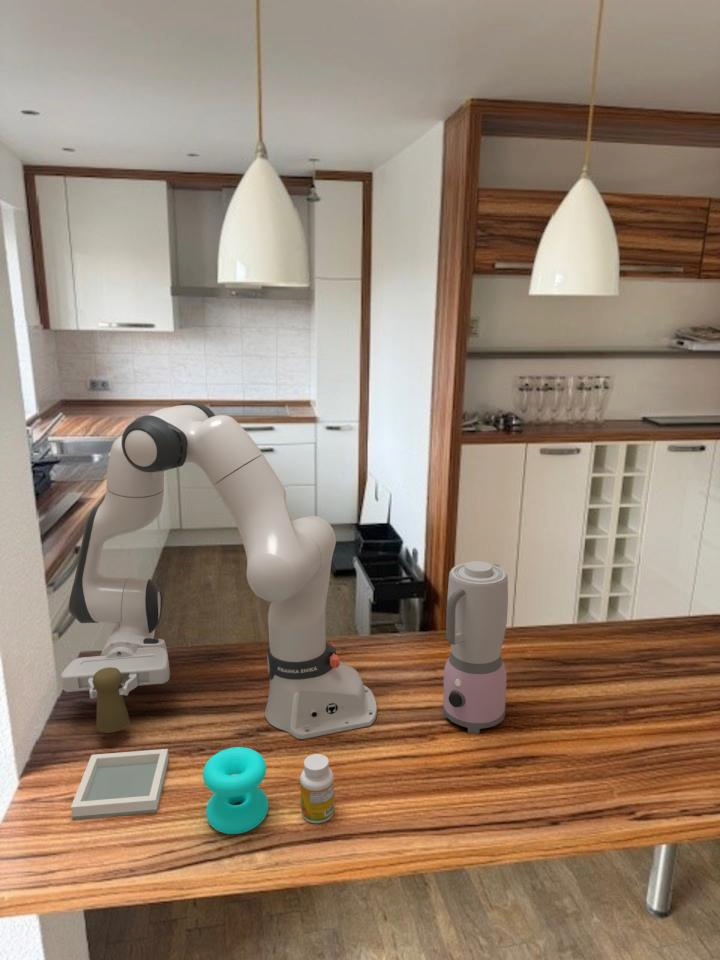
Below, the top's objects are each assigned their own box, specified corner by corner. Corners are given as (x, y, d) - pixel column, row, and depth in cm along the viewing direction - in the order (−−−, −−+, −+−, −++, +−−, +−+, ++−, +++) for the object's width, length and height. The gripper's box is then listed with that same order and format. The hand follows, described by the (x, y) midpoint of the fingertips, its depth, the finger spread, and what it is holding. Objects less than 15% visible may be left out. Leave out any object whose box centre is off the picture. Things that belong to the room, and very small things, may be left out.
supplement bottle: (301, 802, 119) (299, 752, 117) (333, 799, 120) (332, 749, 117) (301, 825, 114) (299, 773, 111) (335, 823, 114) (333, 771, 112)
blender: (466, 691, 151) (470, 549, 142) (517, 713, 143) (524, 564, 134) (420, 724, 140) (421, 572, 131) (472, 751, 132) (477, 590, 123)
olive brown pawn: (121, 733, 132) (114, 679, 130) (90, 732, 133) (83, 678, 131) (135, 715, 138) (128, 663, 136) (105, 714, 139) (98, 662, 137)
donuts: (269, 742, 119) (261, 783, 109) (272, 793, 121) (264, 837, 112) (209, 743, 119) (196, 784, 109) (213, 794, 121) (200, 838, 112)
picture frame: (168, 760, 130) (167, 748, 130) (156, 812, 117) (155, 800, 117) (93, 766, 129) (91, 754, 128) (72, 819, 116) (70, 807, 115)
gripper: (69, 647, 145) (48, 683, 131) (172, 638, 147) (161, 673, 133) (73, 674, 146) (53, 713, 133) (175, 666, 148) (165, 703, 135)
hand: (108, 693), depth 133 cm, fingers closed on olive brown pawn, 4 cm apart
